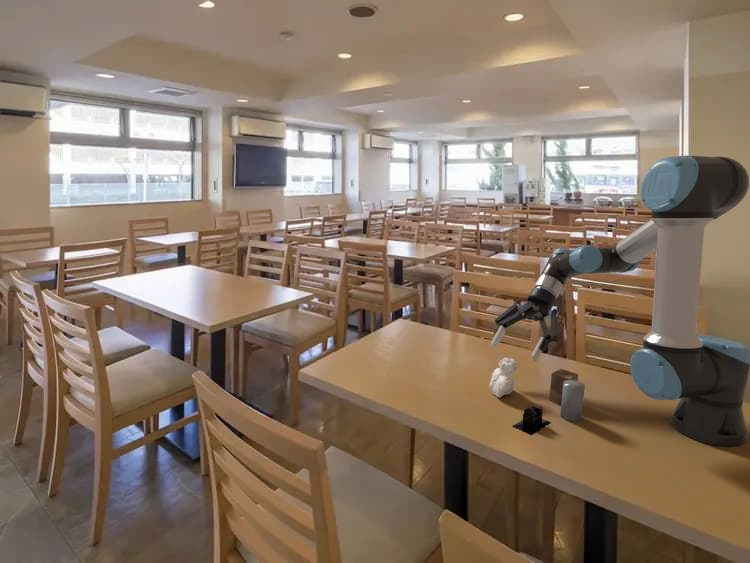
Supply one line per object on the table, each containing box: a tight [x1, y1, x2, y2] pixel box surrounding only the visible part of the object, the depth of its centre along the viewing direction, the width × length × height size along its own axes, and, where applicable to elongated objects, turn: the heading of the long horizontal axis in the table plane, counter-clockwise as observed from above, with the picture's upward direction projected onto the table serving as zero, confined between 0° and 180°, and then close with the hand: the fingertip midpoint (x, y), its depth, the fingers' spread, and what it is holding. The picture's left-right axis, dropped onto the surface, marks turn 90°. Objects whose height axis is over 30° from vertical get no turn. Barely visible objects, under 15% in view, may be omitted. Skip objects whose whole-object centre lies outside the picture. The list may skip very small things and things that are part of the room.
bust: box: [488, 356, 518, 398], centre depth 137 cm, size 12×8×11 cm
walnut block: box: [548, 368, 579, 406], centre depth 133 cm, size 5×5×8 cm
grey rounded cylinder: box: [559, 380, 586, 423], centre depth 123 cm, size 5×5×9 cm
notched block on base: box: [511, 405, 552, 436], centre depth 120 cm, size 12×7×5 cm, turn 131°
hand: (512, 352), depth 141 cm, fingers open, 13 cm apart
